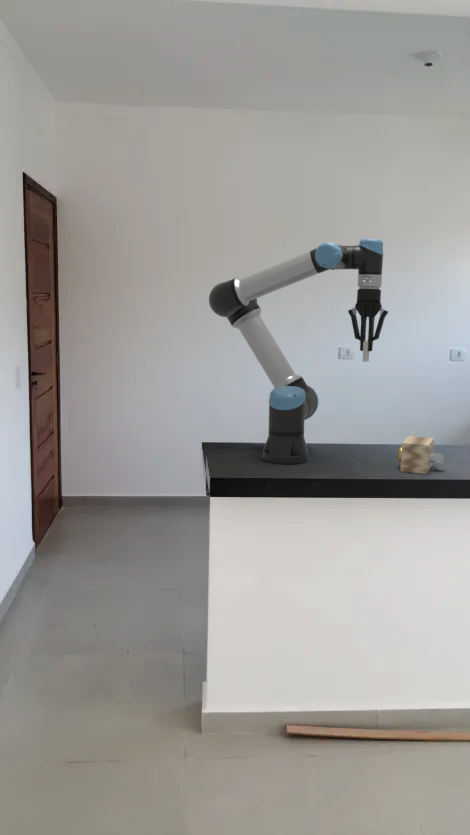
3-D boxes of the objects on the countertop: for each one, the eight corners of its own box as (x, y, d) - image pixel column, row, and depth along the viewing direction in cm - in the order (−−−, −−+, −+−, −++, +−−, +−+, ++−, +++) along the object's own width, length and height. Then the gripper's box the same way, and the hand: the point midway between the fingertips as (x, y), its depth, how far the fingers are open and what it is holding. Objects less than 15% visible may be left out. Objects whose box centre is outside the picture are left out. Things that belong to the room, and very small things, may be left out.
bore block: (400, 471, 217) (402, 442, 215) (406, 462, 228) (408, 435, 226) (426, 474, 214) (428, 445, 212) (432, 465, 225) (433, 438, 223)
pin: (397, 463, 220) (398, 448, 219) (400, 460, 225) (401, 444, 224) (441, 468, 215) (442, 452, 214) (443, 464, 220) (444, 449, 219)
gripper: (346, 287, 224) (343, 361, 228) (387, 288, 219) (383, 363, 223) (352, 288, 230) (348, 359, 235) (391, 288, 225) (387, 361, 230)
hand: (365, 361), depth 229 cm, fingers closed
